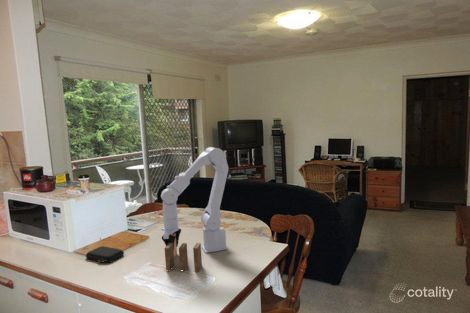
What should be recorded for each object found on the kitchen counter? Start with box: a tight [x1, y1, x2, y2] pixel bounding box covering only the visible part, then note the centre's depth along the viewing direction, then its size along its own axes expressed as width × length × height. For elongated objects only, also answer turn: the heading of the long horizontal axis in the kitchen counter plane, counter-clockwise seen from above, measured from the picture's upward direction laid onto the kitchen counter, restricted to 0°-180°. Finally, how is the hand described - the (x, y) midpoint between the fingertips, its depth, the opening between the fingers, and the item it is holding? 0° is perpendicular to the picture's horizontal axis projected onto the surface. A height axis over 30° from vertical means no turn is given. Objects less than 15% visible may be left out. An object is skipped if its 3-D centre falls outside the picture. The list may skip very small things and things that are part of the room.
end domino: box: [171, 233, 178, 258], centre depth 135 cm, size 2×5×9 cm, turn 172°
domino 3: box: [192, 242, 203, 273], centre depth 123 cm, size 2×5×9 cm, turn 173°
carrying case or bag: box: [85, 245, 125, 264], centre depth 138 cm, size 11×3×15 cm
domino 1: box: [164, 243, 175, 271], centre depth 124 cm, size 2×5×9 cm, turn 173°
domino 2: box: [178, 242, 189, 272], centre depth 124 cm, size 2×5×9 cm, turn 173°
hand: (172, 249), depth 136 cm, fingers closed on end domino, 5 cm apart
